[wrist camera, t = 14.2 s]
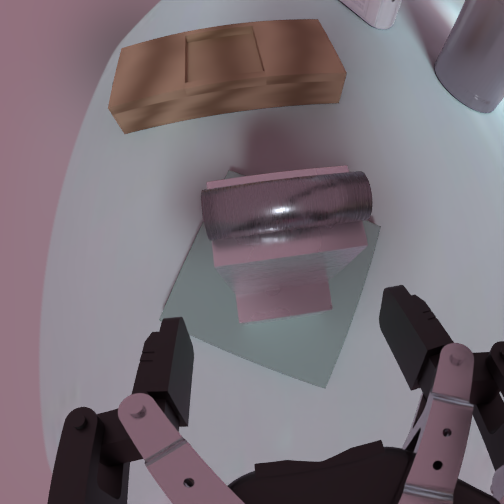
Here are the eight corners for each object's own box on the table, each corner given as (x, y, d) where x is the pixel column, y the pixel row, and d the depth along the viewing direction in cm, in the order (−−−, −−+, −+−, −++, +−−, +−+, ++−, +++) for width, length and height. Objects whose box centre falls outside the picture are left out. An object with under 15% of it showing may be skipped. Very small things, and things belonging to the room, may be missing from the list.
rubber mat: (230, 176, 24) (228, 170, 23) (376, 231, 22) (380, 226, 21) (163, 321, 21) (159, 320, 20) (322, 386, 20) (325, 388, 19)
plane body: (124, 134, 26) (108, 108, 22) (133, 73, 28) (121, 48, 24) (338, 103, 26) (346, 73, 22) (314, 47, 28) (317, 19, 24)
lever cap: (244, 325, 20) (211, 310, 8) (233, 237, 22) (196, 124, 10) (320, 314, 20) (393, 282, 8) (305, 228, 21) (343, 109, 10)
